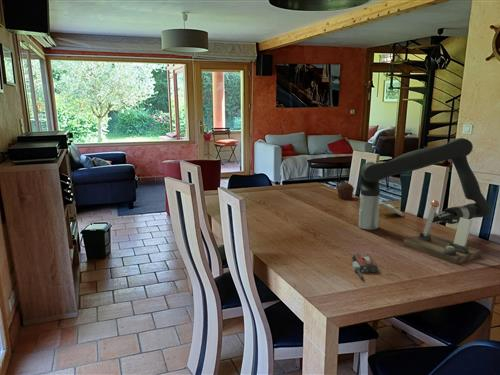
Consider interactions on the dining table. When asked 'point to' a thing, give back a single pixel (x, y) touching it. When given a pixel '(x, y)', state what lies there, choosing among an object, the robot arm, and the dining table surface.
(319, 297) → the dining table surface
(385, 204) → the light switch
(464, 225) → the panel
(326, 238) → the dining table surface
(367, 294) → the dining table surface
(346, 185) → the muffin
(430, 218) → the steel toggle lever
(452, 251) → the walnut switch panel
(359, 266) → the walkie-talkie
